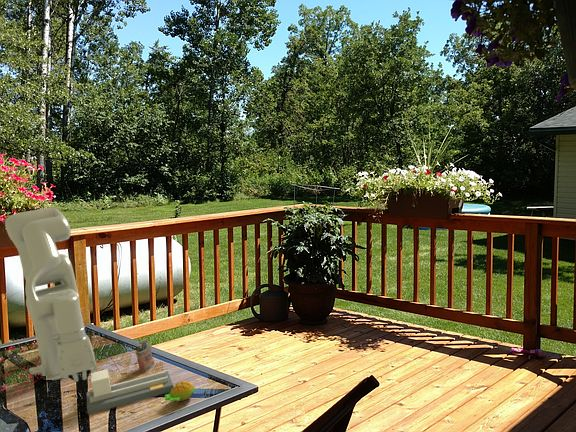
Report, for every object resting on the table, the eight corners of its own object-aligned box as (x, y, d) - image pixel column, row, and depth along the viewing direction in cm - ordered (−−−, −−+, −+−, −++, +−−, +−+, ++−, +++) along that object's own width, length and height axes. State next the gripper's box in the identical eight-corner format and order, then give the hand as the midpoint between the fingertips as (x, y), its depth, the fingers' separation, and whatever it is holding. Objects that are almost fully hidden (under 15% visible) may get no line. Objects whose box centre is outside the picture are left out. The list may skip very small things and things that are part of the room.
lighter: (146, 373, 190) (141, 345, 188) (137, 373, 191) (132, 346, 189) (156, 362, 198) (151, 336, 196) (147, 363, 199) (142, 337, 197)
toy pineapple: (200, 395, 169) (198, 378, 168) (177, 411, 161) (174, 394, 160) (185, 391, 173) (182, 375, 172) (161, 406, 165) (158, 390, 164)
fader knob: (95, 401, 168) (91, 381, 167) (94, 392, 175) (91, 373, 174) (112, 397, 170) (108, 377, 169) (111, 387, 176) (107, 369, 175)
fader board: (88, 414, 165) (86, 403, 165) (87, 397, 177) (85, 387, 176) (174, 390, 174) (172, 380, 173) (168, 376, 185) (167, 366, 184)
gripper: (44, 345, 161) (57, 403, 164) (98, 333, 166) (108, 389, 169) (46, 337, 168) (58, 392, 171) (97, 326, 173) (108, 380, 176)
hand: (83, 391), depth 170 cm, fingers closed
